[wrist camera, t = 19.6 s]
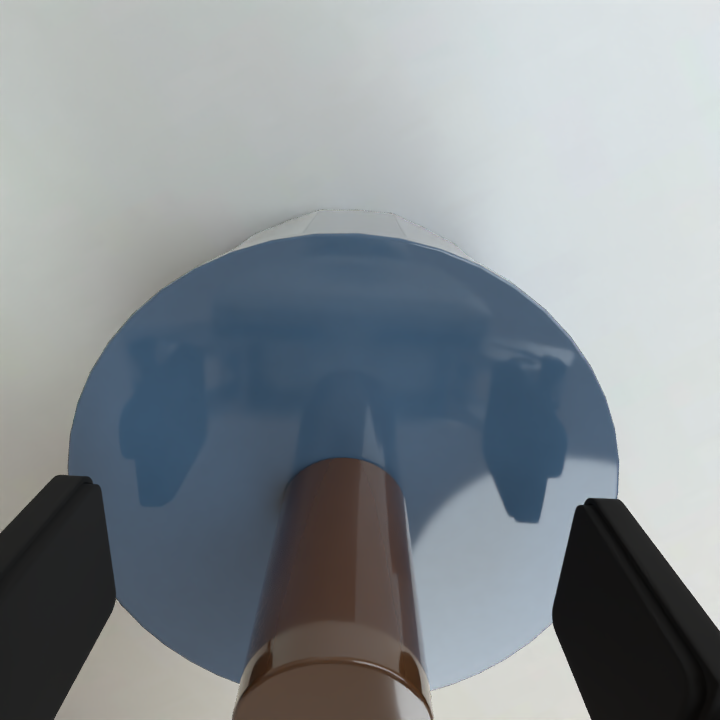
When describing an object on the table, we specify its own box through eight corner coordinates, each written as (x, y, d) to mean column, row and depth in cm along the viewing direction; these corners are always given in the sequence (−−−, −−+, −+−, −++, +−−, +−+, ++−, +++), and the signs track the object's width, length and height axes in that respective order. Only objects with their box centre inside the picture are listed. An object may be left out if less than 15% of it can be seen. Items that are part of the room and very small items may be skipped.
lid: (54, 209, 11) (-289, 269, 5) (655, 242, 11) (972, 334, 5) (118, 657, 15) (-28, 961, 9) (549, 674, 15) (661, 982, 10)
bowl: (180, 200, 17) (58, 230, 10) (530, 218, 18) (643, 260, 11) (199, 498, 21) (121, 664, 14) (484, 510, 22) (544, 680, 15)
